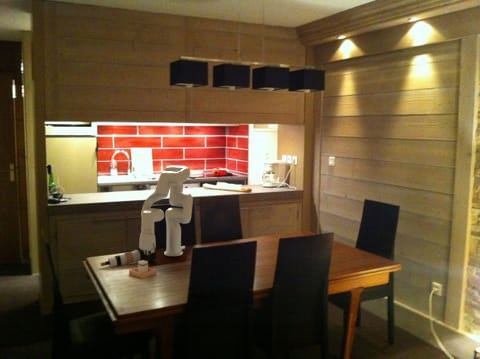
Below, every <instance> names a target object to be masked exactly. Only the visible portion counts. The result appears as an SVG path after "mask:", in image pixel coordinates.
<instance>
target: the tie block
mask: <svg viewBox="0 0 480 359" xmlns="http://www.w3.org/2000/svg"><path fill="white" fill-rule="evenodd" d="M148 267H149V261H144V260H142V261H138V262H137V268H138V272H139V273H142V274H143V273H146V272H148Z"/></svg>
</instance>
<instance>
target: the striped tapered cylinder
mask: <svg viewBox="0 0 480 359" xmlns="http://www.w3.org/2000/svg"><path fill="white" fill-rule="evenodd" d="M154 251H155V252H153V253H151V257H150V261H149V262H151V261H156V260H157V250H156V249H155V250H154ZM142 260H144V261H145V254H144V251H143V250H141V249H140V248H139V247H135V250H133V251H129V252H125V253H121V254H118V255H114V256H111V257H108V258H107V261H106V260H105V261H104V262H101V263H100V267H105V266H109V267H110V268H113V267H118V266H119V267H120V266H124V265H130V264H134V263H138V261H142Z"/></svg>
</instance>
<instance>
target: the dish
mask: <svg viewBox="0 0 480 359" xmlns="http://www.w3.org/2000/svg"><path fill="white" fill-rule="evenodd" d="M154 274H155V275H157V269H155V268H152V267H149V266H148V272H146V273H143V274H142V273H139V272H138V267H135V268H133V269H129V270H128V275H129V276H132V277H135V278H139V279H141V280H143V279H146V278H149V277H151V275H152V276H154ZM148 276H149V277H148Z"/></svg>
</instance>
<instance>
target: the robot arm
mask: <svg viewBox="0 0 480 359" xmlns="http://www.w3.org/2000/svg"><path fill="white" fill-rule="evenodd" d="M190 176H191V170H190V168H189V167H188V166H182V165H181V166H180V165H179V166H178V165H167V166H166V167H165V168H164V171H162V172H160V175H159V178H158V181H157V184H156V186H155V190H154V191H153V193H151V194H150V195H149V196H148V197H147V198H146V200H144V202H143V205H142V208H141V211H140V212H141V213H140V216H141V227H140V230H141V232H140V234H139V240H138V242H139V244H138V248H140V249H141V250H143V251H144V254H145V261H148V262H151V261H150V257H151V253H153V252H155V251H154V250H156V245H157V244H156V243H157V242H156V235H155V222H160V221H162V220H163V219H164V217H165V222H166V250H165V251H164V252H163V253H164V254H163V255H165V256H168V257H178V256H183V254H184V252H183V251H182V250H185V248H186V246H185V245H182V242H181V241H182V240H181V239H182V227H181V225H180V224H189V223H190V222H191V218H192V214H193V204H194V203H193V202H194V201H193V200H194V199H193V196H192V194H191V193H188V192H184V182H187V180H189V178H190ZM168 196H169V199H168V202H169V204H170V205H171V206H174V207H169V208H168V209H166V210H165V212H164V211H163V210H162V209H161V208H151V207H152V205H153V204H154V203H156V202H158V201H160V200H163V199H166V198H167V197H168ZM179 207H180V208H179ZM181 207H182V208H181Z"/></svg>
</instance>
